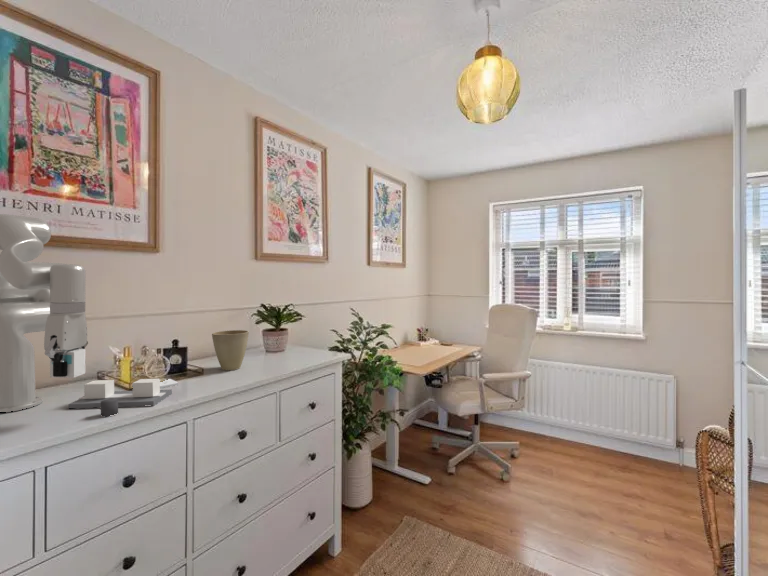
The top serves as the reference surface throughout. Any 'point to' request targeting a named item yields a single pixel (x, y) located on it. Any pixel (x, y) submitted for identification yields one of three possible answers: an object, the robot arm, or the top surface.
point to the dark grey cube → (109, 407)
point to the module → (73, 363)
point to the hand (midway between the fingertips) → (67, 372)
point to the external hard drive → (168, 383)
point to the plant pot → (230, 348)
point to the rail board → (121, 394)
